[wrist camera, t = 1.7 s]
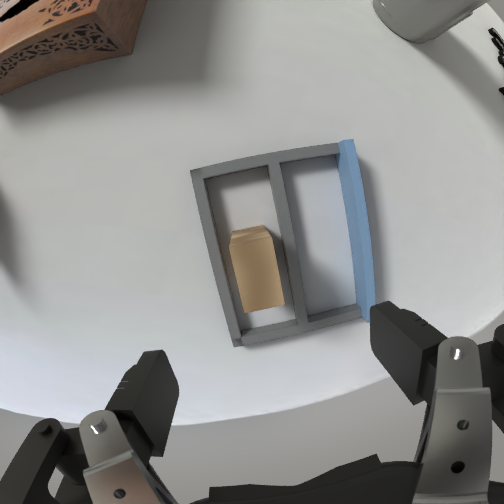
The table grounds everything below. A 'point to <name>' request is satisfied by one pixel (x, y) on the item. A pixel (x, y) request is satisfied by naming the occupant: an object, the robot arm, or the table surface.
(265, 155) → the organizer
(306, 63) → the table surface
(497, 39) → the nameplate
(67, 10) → the tissue box cover
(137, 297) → the table surface
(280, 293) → the plug block
